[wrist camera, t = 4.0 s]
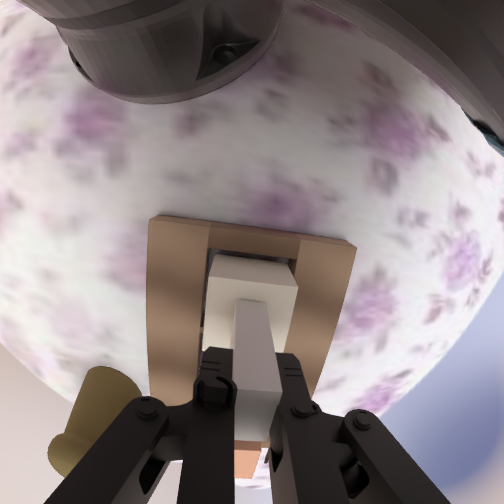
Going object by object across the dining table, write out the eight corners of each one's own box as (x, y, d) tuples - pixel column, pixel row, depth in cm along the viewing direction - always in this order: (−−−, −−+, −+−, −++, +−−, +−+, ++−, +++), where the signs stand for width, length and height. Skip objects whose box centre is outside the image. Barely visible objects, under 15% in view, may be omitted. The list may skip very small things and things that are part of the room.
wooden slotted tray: (158, 214, 18) (148, 219, 17) (346, 240, 19) (357, 247, 17) (159, 420, 24) (155, 434, 22) (288, 433, 25) (291, 447, 23)
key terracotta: (200, 406, 20) (195, 445, 16) (258, 412, 20) (261, 451, 16) (199, 438, 21) (194, 473, 17) (250, 443, 21) (251, 478, 17)
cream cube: (215, 253, 18) (208, 276, 14) (286, 263, 18) (298, 287, 14) (208, 317, 19) (202, 350, 15) (274, 324, 19) (281, 358, 16)
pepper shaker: (141, 376, 22) (102, 475, 11) (143, 418, 24) (116, 506, 13) (82, 358, 22) (26, 441, 11) (90, 401, 23) (50, 478, 12)
